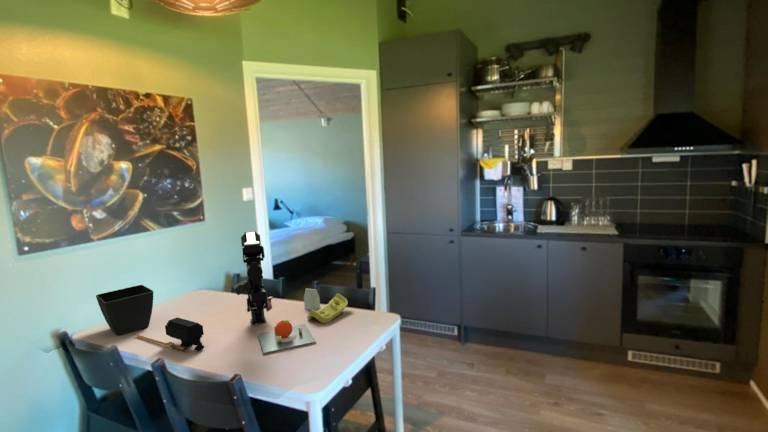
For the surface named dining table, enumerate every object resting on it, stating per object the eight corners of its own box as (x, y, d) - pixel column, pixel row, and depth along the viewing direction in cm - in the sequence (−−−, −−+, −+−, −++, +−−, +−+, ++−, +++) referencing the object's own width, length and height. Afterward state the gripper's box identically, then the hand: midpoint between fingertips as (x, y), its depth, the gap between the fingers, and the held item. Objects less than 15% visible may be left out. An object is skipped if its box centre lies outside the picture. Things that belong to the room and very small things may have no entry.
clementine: (292, 331, 172) (291, 315, 172) (297, 337, 166) (296, 320, 165) (273, 336, 169) (272, 319, 168) (278, 342, 163) (276, 325, 162)
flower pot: (100, 329, 188) (95, 294, 186) (146, 317, 201) (141, 283, 199) (110, 340, 175) (104, 302, 172) (158, 326, 188) (154, 291, 186)
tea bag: (315, 311, 198) (314, 291, 197) (304, 309, 201) (303, 289, 200) (320, 308, 201) (318, 288, 200) (309, 306, 205) (308, 287, 203)
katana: (138, 338, 178) (137, 332, 178) (187, 351, 160) (186, 344, 160) (135, 340, 177) (134, 334, 177) (183, 352, 159) (182, 346, 159)
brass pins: (274, 333, 171) (274, 327, 171) (299, 328, 175) (298, 322, 175) (279, 344, 161) (278, 337, 160) (304, 339, 165) (304, 332, 164)
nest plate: (257, 335, 173) (257, 333, 173) (304, 325, 180) (304, 323, 180) (263, 354, 155) (263, 352, 154) (315, 343, 162) (315, 341, 162)
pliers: (280, 298, 222) (280, 293, 221) (269, 311, 202) (268, 306, 201) (259, 298, 222) (259, 294, 222) (246, 312, 202) (245, 307, 202)
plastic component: (326, 320, 180) (309, 307, 184) (322, 332, 183) (305, 320, 187) (351, 302, 197) (335, 291, 201) (347, 314, 200) (331, 303, 204)
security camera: (193, 354, 158) (191, 329, 157) (166, 345, 168) (163, 321, 166) (209, 347, 164) (207, 323, 162) (182, 338, 173) (179, 315, 172)
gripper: (231, 270, 172) (235, 306, 175) (236, 282, 156) (239, 321, 158) (258, 266, 177) (262, 301, 179) (266, 277, 160) (269, 315, 163)
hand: (257, 309), depth 170 cm, fingers open, 9 cm apart
